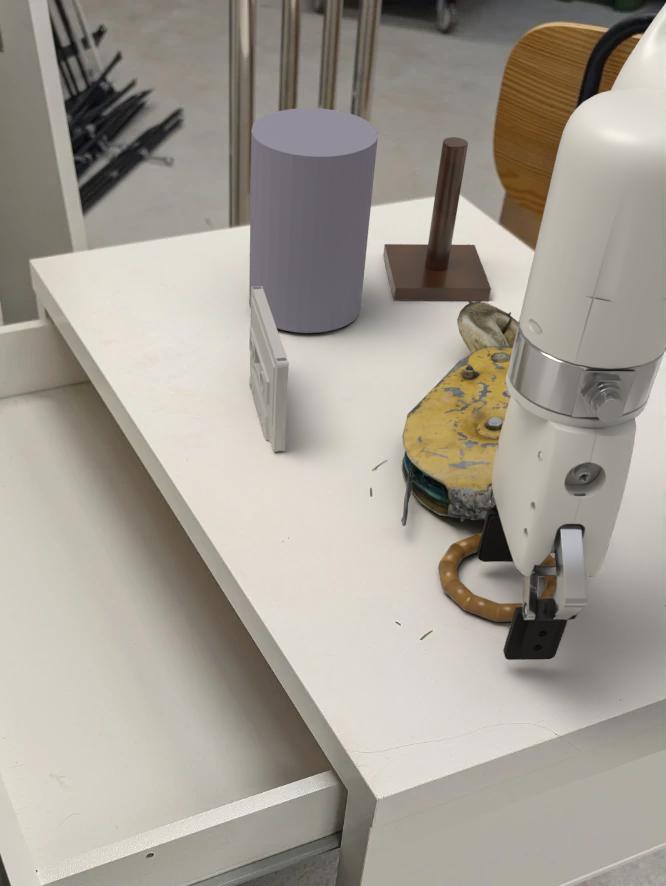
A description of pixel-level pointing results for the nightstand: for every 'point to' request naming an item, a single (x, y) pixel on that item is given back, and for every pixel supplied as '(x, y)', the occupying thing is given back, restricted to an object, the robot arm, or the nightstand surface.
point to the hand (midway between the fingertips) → (513, 604)
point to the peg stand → (439, 245)
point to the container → (311, 215)
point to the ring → (474, 602)
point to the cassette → (268, 371)
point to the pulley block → (461, 421)
